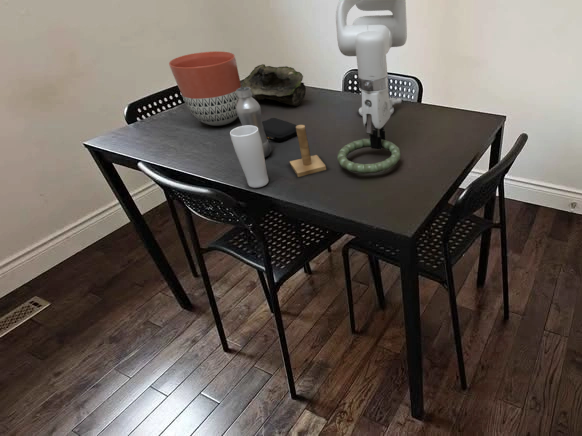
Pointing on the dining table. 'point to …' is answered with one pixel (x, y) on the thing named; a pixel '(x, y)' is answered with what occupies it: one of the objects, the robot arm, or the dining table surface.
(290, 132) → the carrying case
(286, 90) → the hollow geode rock
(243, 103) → the plastic bottle
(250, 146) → the drinking glass
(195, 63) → the planter
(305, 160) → the coat peg
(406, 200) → the dining table surface
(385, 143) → the hoop
